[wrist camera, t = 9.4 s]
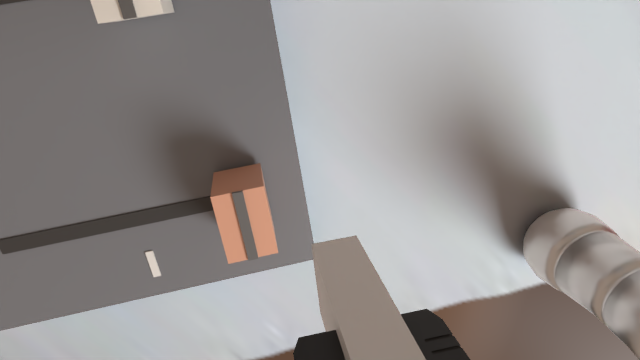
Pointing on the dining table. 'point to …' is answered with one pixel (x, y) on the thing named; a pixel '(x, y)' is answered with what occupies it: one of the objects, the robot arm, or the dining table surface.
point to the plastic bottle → (589, 268)
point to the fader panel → (135, 151)
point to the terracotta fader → (243, 213)
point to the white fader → (129, 9)
